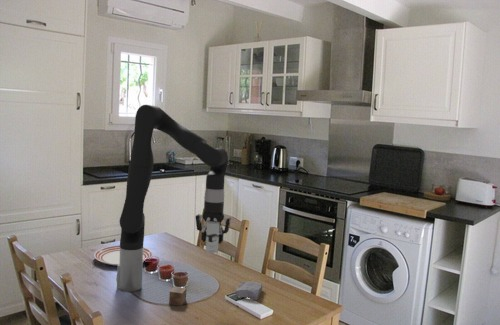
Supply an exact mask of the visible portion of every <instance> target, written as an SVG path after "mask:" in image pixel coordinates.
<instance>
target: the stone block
mask: <svg viewBox="0 0 500 325" xmlns="http://www.w3.org/2000/svg"><path fill="white" fill-rule="evenodd" d="M262 290H263V283H259V282H256V281H250V280H249V281H244V282H241V283H240V284H239V285H238V286H237V287H236V290H235V296H236V297H237V296H241V297H248V298H250V299H253V300H252V301H257V300H259V297H260V295H261V293H262Z"/></svg>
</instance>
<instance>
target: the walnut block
mask: <svg viewBox="0 0 500 325" xmlns="http://www.w3.org/2000/svg"><path fill="white" fill-rule="evenodd" d="M186 301H187V287H186V288H185V287H180V286H173V287H172V289H170V290H169V302H168V303H169V305H174V306H175V305H176V306H179V307H180V306H183V305H184V304H185V303H186Z"/></svg>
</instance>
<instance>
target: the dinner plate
mask: <svg viewBox="0 0 500 325" xmlns="http://www.w3.org/2000/svg"><path fill="white" fill-rule="evenodd" d="M93 256H94V259H95V260H96V261H99V262H101V263H102V264H106V265H110V266H114V267H117V266H118V265H119V264H120V244H117V245H110V246H106V247H102V248H99V249H97V250H96V251H95V252H94V254H93ZM153 257H154V252H153V251H152V250H150V249H149V248H147V247H144V246H143V263H144V259H145V258H151V259H152V258H153Z"/></svg>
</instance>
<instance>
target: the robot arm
mask: <svg viewBox="0 0 500 325" xmlns="http://www.w3.org/2000/svg"><path fill="white" fill-rule="evenodd" d="M134 118H135V119H134V130H133V132H134V134H133V143H132V147H131V148H132V149H131V154H130V160H129V165H128V171H127V179H126V190H125V191H126V193H125V198H124V199H125V200H124V204H123V208H122V210H121V214H120V217H119V225H120V228H121V231H120V232H121V233H120V239H119V245H120V264H119V265H118V266H116V268H117V271H116V289H118V290H120V291H121V292H128V293H129V292H137V291H140V290H141V289H142V288H143V268H144V267H143V265H144V264H143V263H144V262H143V247H144V241H145V240H144V239H145V225H146V224H145V221H146V220H145V213H144V207H145V206H144V205H145V200H146V196H147V193H148V190H149V188H150V185H151V184H150V183H151V180H152V177H153V176H152V175H153V171H154V153H153V149H152V139H153V132H154V129H155V130H158V131H160V132H162V133H165V135H168V136H169V137H170V138H172V139H173V140H174V142H176V143H177V145H180V146H181V147H182V148H184V149H185V150H187V151H188V152H190V153H191V154H193V155H195V156H196V157H197V158H198V159H199V160H200V161H201V162H203V163H204V164H205V165H207V166H208V167H209V172H208V173H207V175H206V179H205V191H204V197H203V199H204V202H203V204H204V205H203V213H202V214H200V213H197V214H196V215H195V225H196V231H199V232H201V237H200V238H201V241H202V243H206V229H207V221H214V222H219V243H218V245H219V244H222V243H223V241H224V234H227V233H228V232H229V230H230V226H231V221H232V217H230V216H229V217H227V216H225V215H224V206H225V205H224V204H225V176H226V172H227V168H228V164H229V163H228V162H229V161H228V160H229V159H228V158H229V155H228V152H227V150H226V149H224V148H222V147H216V148H215V147H213V146H212V145H210V144H208V142H207V140H206V139H204V138H203V137H201V136H200V135H198V134H197V133H195V132H193V131H192V130H190V129H188V128H187V127H185V126H183V125H181V124H180V123H179V122H177V121H176V120H174V118H172V117H171V116H170V115H169V114H168V113H166V112H165V111H164V110H163V109H162V108H161V107H159V106H157V105H154V104H153V105H151V104H142V105H140V106H139V107H138V109H137V111H136V113H135V117H134ZM202 220H204V224H203V226H202ZM223 221H224V223H225V226H224V228H223V224H222V222H223Z"/></svg>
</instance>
